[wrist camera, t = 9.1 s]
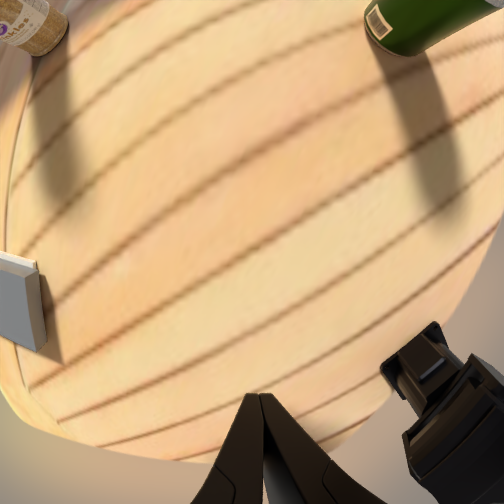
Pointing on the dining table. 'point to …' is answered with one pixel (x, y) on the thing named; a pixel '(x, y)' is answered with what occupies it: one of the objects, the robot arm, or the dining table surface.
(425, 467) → the robot arm
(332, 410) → the dining table surface
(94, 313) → the dining table surface
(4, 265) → the slate tile
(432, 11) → the beer can
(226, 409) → the dining table surface
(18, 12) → the sprinkles bottle
